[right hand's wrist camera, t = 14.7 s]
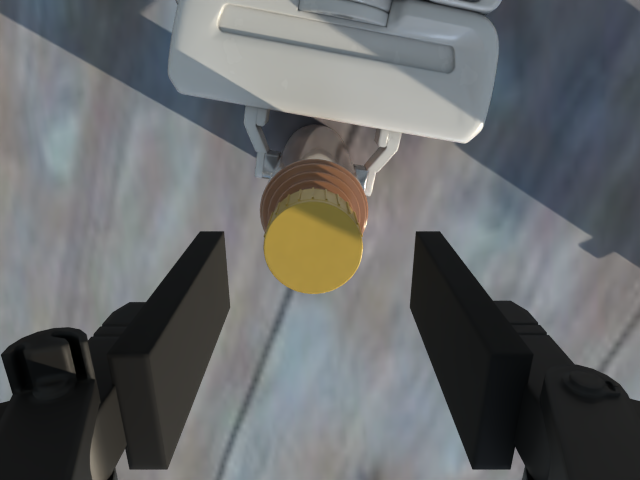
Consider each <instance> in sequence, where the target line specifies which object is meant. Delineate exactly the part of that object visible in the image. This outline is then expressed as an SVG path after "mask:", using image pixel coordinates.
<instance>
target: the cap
mask: <svg viewBox="0 0 640 480" xmlns="http://www.w3.org/2000/svg"><path fill="white" fill-rule="evenodd" d="M264 237H265V239H264V255H265V260H266V263H267V265H268V267H269V269H270V271H271V272H272V274H273V275H274V276H275V277H276V278H277V279H278V280H279V281H280V282H281V283H282V284H284V285H285V286H287V287H288V288H290V289H292V290H295V291H298V292H302V293H308V294H319V293H325V292H329V291H332V290H334V289H336V288H338V287H340V286H342V285H343V284H344V283H346V282H347V281H348V280H349V279H350V278H351V277H352V276H353V275H354V273H355V272H356V270H357V268H358V266H359V264H360V261H361V258H362V252H363V244H362V238H361V237H363V236H362V232H361V228H360V225H359V223H358V220H357V217H356V213H355V211H354V212H353V210H352V209H351V207H350V206H349V203H348V202H345V201H344V200H343V199H342V198H341V197H339V194H334V193H332V192H329V191H327V189H325V190H322V189H314V187H312V189H305V190H301V189H300V190H299V191H298V192H295V193H293V194H291V195H290V194H288V196H287V197H286V198H285V199H284V200H283V201H282V202H281V203H280V202H279V203H278V205H277V207H276V209H275V211H274V212H272V213H271V216H270V219H269V222H268V225H267V228H266V231H265V234H264Z"/></svg>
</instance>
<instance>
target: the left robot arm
mask: <svg viewBox="0 0 640 480" xmlns="http://www.w3.org/2000/svg"><path fill="white" fill-rule="evenodd" d="M501 1H502V0H176V3H177V5H178V6H177V10H176V15H175V19H174V25H173V30H172V36H171V43H170V50H169V59H168V76H169V79H170V80H171V82H172V83H173V85H174V87H175V88H176V90H177V91H178V92H179V93H181V94H184V95H190V96H195V97H201V98H207V99H212V100H218V101H224V102H230V103H235V104H241V105H245V114H244V126H245V128H246V130H247V133H248V135H249V137H250V140H251V142H252V145H253V147H254V149H255V152H257V159H256V168H255V177H258V178H264V179H270V177H271V175H272V173H273V171H274V169H275V167H276V165H277V163H278V160H279V158H280V155H281V152H279V151H273V150H269V146H268V144H267V141H266V138H265V136H264V133H263V131H262V128H261V126H264V125H265V124H267V123H268V120H269V112H270V110H275V111H281V112H287V113H292V114H298V115H304V116H309V117H315V118H321V119H327V120H332V121H338V122H344V123H349V124H355V125H361V126H366V127H372V128H377V129H376V134H375V139H374V141H375V142H376V144H377V145H378V146H379V148H378V149H377V151H376V152H375V153H374V154H373V155H372V156H371V158H370V159H369V160H368V161H367V162H366V164H365V165H364V166H362V165H355V164H353V166H354V168H355V171H356V173H357V175H358V178H359V180H360V183H361V185H362V187H363V190H364V192H365V195H367V196H370V195H371V193H372V189H373V184H374V179H375V175H376V172H379V170H380V169H381V168H382V167H383V166H384V165H385V164H386V163H387V162H388V161H389V159H390V158H391V157H392V156H393V155H394V154H395V153H396V152H397V151H398V147H399V143H400V139H401V134H402V133H406V134H412V135H418V136H423V137H429V138H435V139H441V140H446V141H452V142H458V143H467V142H469V141H470V140H471V139H473V138H474V137H475V136H476V135H477V134H478V133H479V132H481V130H482V128H483V126H484V123H485V120H486V117H487V113H488V110H489V105H490V101H491V97H492V92H493V87H494V82H495V77H496V70H497V63H498V56H499V40H498V35H497V31H496V29H495V27H494V25H493V24H492V22H491V21H490V20H489V19H488V18H487V17H485V16H484V15H486V14H488V13H490V12H492V11H493V10H495V9H496V8H497V7H498V6H499V5H500V3H501Z"/></svg>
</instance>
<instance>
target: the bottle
mask: <svg viewBox="0 0 640 480" xmlns="http://www.w3.org/2000/svg"><path fill="white" fill-rule="evenodd" d="M312 187H314V189H322V190H325V189H327V191H329V192H332V193H334V194H339V197H341V198H342V199H343V200H344V201H345V202H348V203H349V206H350V207H351V209H352V210H353V212H354V211H355V213H356V217H357V220H358V223H359V225H360V228H361V232H362V234H363V232H364V230H365V227H366V224H367V219H368V203H367V198H366V195H365V192H364V190H363V187H362V185H361V183H360V180H359V178H358V175H357V173H356V171H355V168H354V166H353V163H352V161H351V159H350V156H349V154H348V151H347V149H346V147H345V144H344V142H343V140H342V138H341V137H340V136H339V135H338V134H337V133H336V132H335V131H334V130H332V129H331V128H329V127H327V126H323V125H318V124H313V125H307V126H304V127H302V128H300V129H298V130H297V131H296V132H294V133H293V134H292V136H291V137H290V138H289V140H288V142H287V144H286V146H285V148H284V150H283V152H282V154H281V156H280V158H279V160H278V163H277V165H276V167H275V169H274V171H273V173H272V175H271V177H270V179H269V181H268V183H267V186H266V188H265V190H264V192H263V195H262V199H261V203H260V218H261V223H262V226H263V229H264V231H266V228H267V225H268V222H269V219H270V216H271V213H272V212H274V211H275V209H276V207H277V205H278V203H279V202H280V203H281V202H282V201H283V200H284V199H285V198H286V197H287V196H288V194H290V195H291V194H293V193H295V192H298V191H299V190H300V189H301V190H305V189H312Z"/></svg>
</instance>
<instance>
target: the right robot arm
mask: <svg viewBox="0 0 640 480" xmlns="http://www.w3.org/2000/svg"><path fill="white" fill-rule="evenodd" d="M229 309H230V299H229V287H228V275H227V262H226V250H225V238H224V231H200V232H199V234H198V235H197V236H196V238H195V239H194V240H193V242H192V243H191V244H190V245H189V247H188V248H187V249H186V251H185V252H184V253H183V255H182V256H181V257H180V259H179V260H178V261H177V262H176V264H175V265H174V266H173V268H172V269H171V270H170V272H169V273H168V274H167V276H166V277H165V278H164V279H163V281H162V282H161V283H160V285H159V286H158V287H157V289H156V290H155V291H154V293H153V294H152V295H151V296H150V298H149V299H148V300H147V302H129V303H127V304H126V305H124V306H122V307H121V308H119V309H117V310H116V311H114V312H113V313H112V314H111V315H110V316H109V317H108V318H107V319H106V321H105V322H104V323H103V324H102V327H99V329H98V330H97V331H96V332H95V333H94V336H93V337H91V338H90V339H89V340H88V339H87V335H86V334H85V333H84V332H83V331H81V330H80V329H75V328H69V327H66V328H53V329H48V330H44V331H40V332H36V333H34V334H31V335H29V336H26V337H24V338H21V339H20V340H18V341H16V342H15V343H13V344H12V345H10V346H9V347H8V348H7V349H6V350H5V351H4V352H3V353H2V354H1V357H2V360H3V364H4V367H5V370H6V373H7V377H8V380H9V383H10V387H11V390H12V393H13V395H12V397H11V399H10V401H7V402H3V403H0V480H118V479H117V473H116V469H115V467H116V465H117V463H118V461H119V459H120V457H121V455H122V453H123V451H124V449H126V454H127V459H128V464H129V469H168V467H169V464H170V462H171V459H172V456H173V454H174V451H175V449H176V446H177V443H178V441H179V438H180V436H181V433H182V430H183V428H184V425H185V423H186V420H187V418H188V415H189V412H190V410H191V407H192V405H193V402H194V399H195V397H196V394H197V392H198V389H199V386H200V384H201V381H202V379H203V376H204V374H205V371H206V368H207V366H208V363H209V361H210V358H211V355H212V353H213V350H214V348H215V345H216V342H217V340H218V337H219V335H220V332H221V330H222V327H223V324H224V322H225V319H226V317H227V314H228V311H229ZM410 309H411V311H412V314H413V317H414V319H415V322H416V324H417V327H418V330H419V332H420V335H421V337H422V340H423V342H424V345H425V348H426V350H427V353H428V355H429V358H430V361H431V363H432V366H433V368H434V371H435V374H436V376H437V379H438V381H439V384H440V386H441V389H442V392H443V394H444V397H445V399H446V402H447V405H448V407H449V410H450V412H451V415H452V418H453V420H454V423H455V425H456V428H457V430H458V433H459V436H460V438H461V441H462V443H463V446H464V449H465V451H466V454H467V456H468V459H469V462H470V464H471V467H472V469H511V464H512V459H513V454H514V449H515V447H516V449H517V451H518V453H519V455H520V457H521V459H522V460H523V462H524V464H525V469H524V473H523V478H522V480H640V401H637V400H633V399H630V398H629V396H628V394H627V393H626V392H625V390H624V389H623V388H622V387H621V385H620V384H619V383H617V382H616V381H614V380H613V379H612V378H610V377H609V376H607V375H605V374H603V373H601V372H599V371H596V370H594V369H591V368H588V367H584V366H580V365H575V364H574V363H573V362H572V361H571V360H570V359H569V357H568V356H567V355H566V354H565V353H564V352H563V351H562V349H561V348H560V347H559V346H558V345H557V344H556V343H555V341H554V340H553V339H552V338H551V337H550V336H549V335H547V332H546V331H545V330H544V329H543V328H542V327H541V326H540V325H538V322H537V321H536V320H535V319H534V318H533V316H532V315H531V314H530V313H529V312H528V311H527V310H525V309H524V308H522V307H520V306H519V305H517V304H515V303H514V302H512V301H493V300H492V299H491V298H490V296H489V295H488V294H487V293H486V291H485V290H484V289H483V287H482V286H481V285H480V283H479V282H478V281H477V279H476V278H475V277H474V276H473V274H472V273H471V272H470V270H469V269H468V268H467V266H466V265H465V264H464V262H463V261H462V260H461V259H460V257H459V256H458V255H457V253H456V252H455V251H454V249H453V248H452V247H451V245H450V244H449V243H448V242H447V240H446V239H445V238H444V236H443V235H442V234H441V232H440V231H416V238H415V250H414V262H413V275H412V287H411V299H410Z"/></svg>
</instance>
